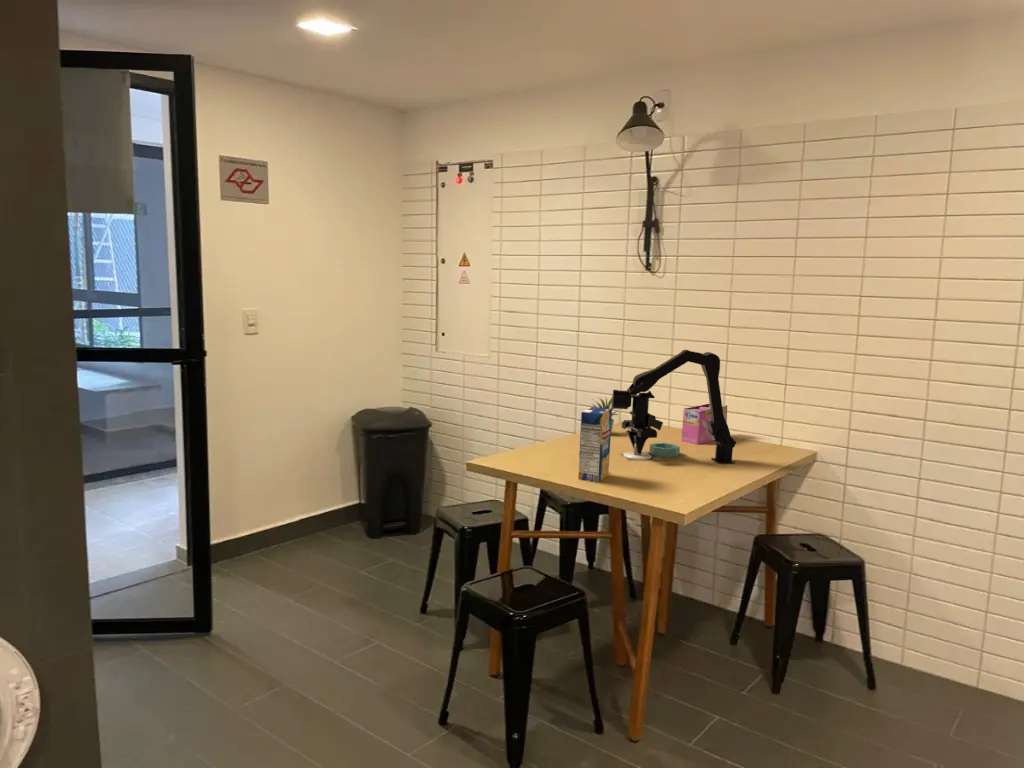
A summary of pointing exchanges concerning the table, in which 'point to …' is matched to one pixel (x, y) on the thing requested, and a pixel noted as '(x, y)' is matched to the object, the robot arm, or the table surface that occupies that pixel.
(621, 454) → the mat
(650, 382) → the robot arm
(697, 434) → the gum box
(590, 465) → the beverage box
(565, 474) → the table surface
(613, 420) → the house plant
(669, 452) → the bowl
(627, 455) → the lid
